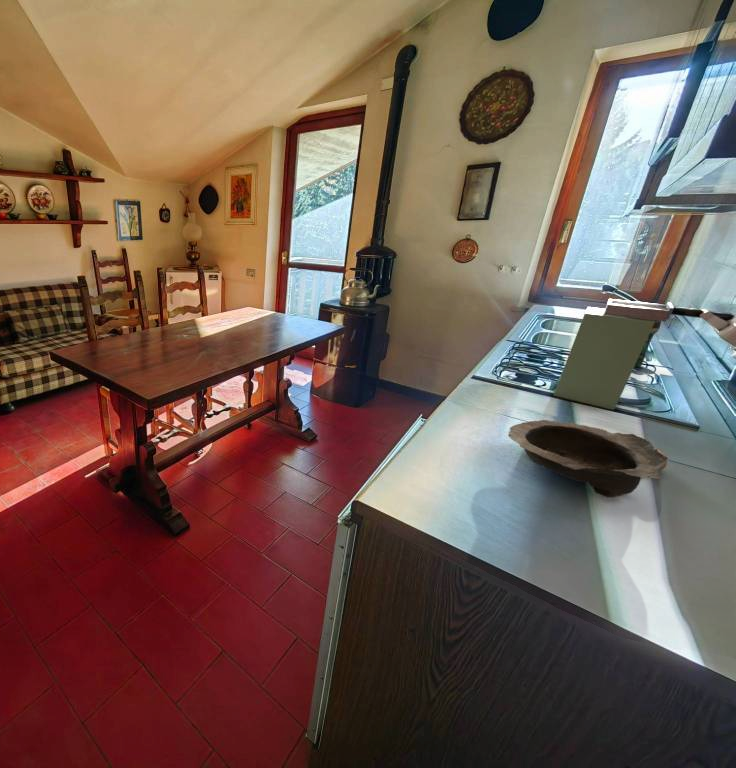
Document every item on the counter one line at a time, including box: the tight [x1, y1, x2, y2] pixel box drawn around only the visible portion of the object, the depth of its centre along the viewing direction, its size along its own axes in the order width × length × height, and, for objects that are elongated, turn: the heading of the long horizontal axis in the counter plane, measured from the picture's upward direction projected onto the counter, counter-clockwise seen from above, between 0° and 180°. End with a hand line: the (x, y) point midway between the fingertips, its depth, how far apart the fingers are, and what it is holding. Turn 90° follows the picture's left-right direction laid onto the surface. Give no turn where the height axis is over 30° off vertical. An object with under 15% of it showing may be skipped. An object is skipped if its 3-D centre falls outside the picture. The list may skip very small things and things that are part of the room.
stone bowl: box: [507, 419, 669, 498], centre depth 83 cm, size 25×25×9 cm
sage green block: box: [552, 306, 655, 411], centre depth 115 cm, size 14×12×26 cm
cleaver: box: [604, 298, 735, 323], centre depth 104 cm, size 23×10×4 cm, turn 46°
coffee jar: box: [634, 320, 662, 368], centre depth 145 cm, size 10×8×19 cm
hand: (701, 312), depth 100 cm, fingers closed on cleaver, 2 cm apart
